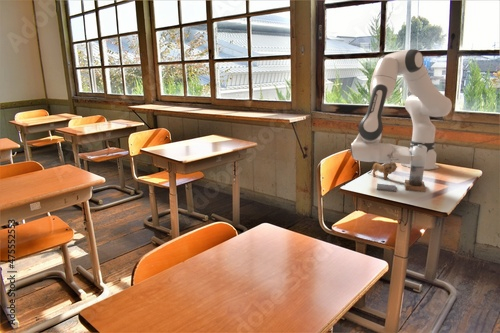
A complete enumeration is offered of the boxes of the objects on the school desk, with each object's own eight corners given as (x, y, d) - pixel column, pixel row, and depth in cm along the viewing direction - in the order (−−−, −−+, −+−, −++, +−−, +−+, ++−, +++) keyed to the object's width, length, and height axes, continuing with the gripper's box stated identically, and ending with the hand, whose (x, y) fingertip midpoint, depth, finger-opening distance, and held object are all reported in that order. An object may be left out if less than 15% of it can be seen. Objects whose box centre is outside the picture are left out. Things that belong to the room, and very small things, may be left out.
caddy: (404, 183, 178) (405, 175, 177) (423, 185, 176) (424, 177, 175) (405, 190, 169) (406, 181, 168) (425, 192, 167) (426, 183, 166)
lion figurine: (397, 179, 185) (399, 161, 182) (391, 181, 181) (393, 163, 179) (370, 173, 195) (371, 156, 193) (364, 175, 192) (366, 157, 189)
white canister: (410, 162, 172) (412, 143, 170) (424, 164, 170) (426, 144, 168) (410, 165, 166) (413, 145, 164) (425, 167, 165) (428, 146, 162)
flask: (408, 182, 174) (410, 163, 172) (421, 183, 172) (423, 164, 170) (408, 185, 169) (411, 165, 167) (422, 186, 167) (424, 167, 165)
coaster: (377, 184, 176) (377, 183, 176) (395, 186, 174) (395, 185, 173) (376, 189, 169) (376, 188, 169) (395, 192, 166) (396, 190, 166)
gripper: (388, 151, 161) (423, 154, 157) (388, 142, 180) (420, 145, 175) (386, 165, 163) (422, 169, 158) (386, 155, 181) (418, 158, 177)
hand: (421, 156), depth 167 cm, fingers closed on white canister, 6 cm apart
